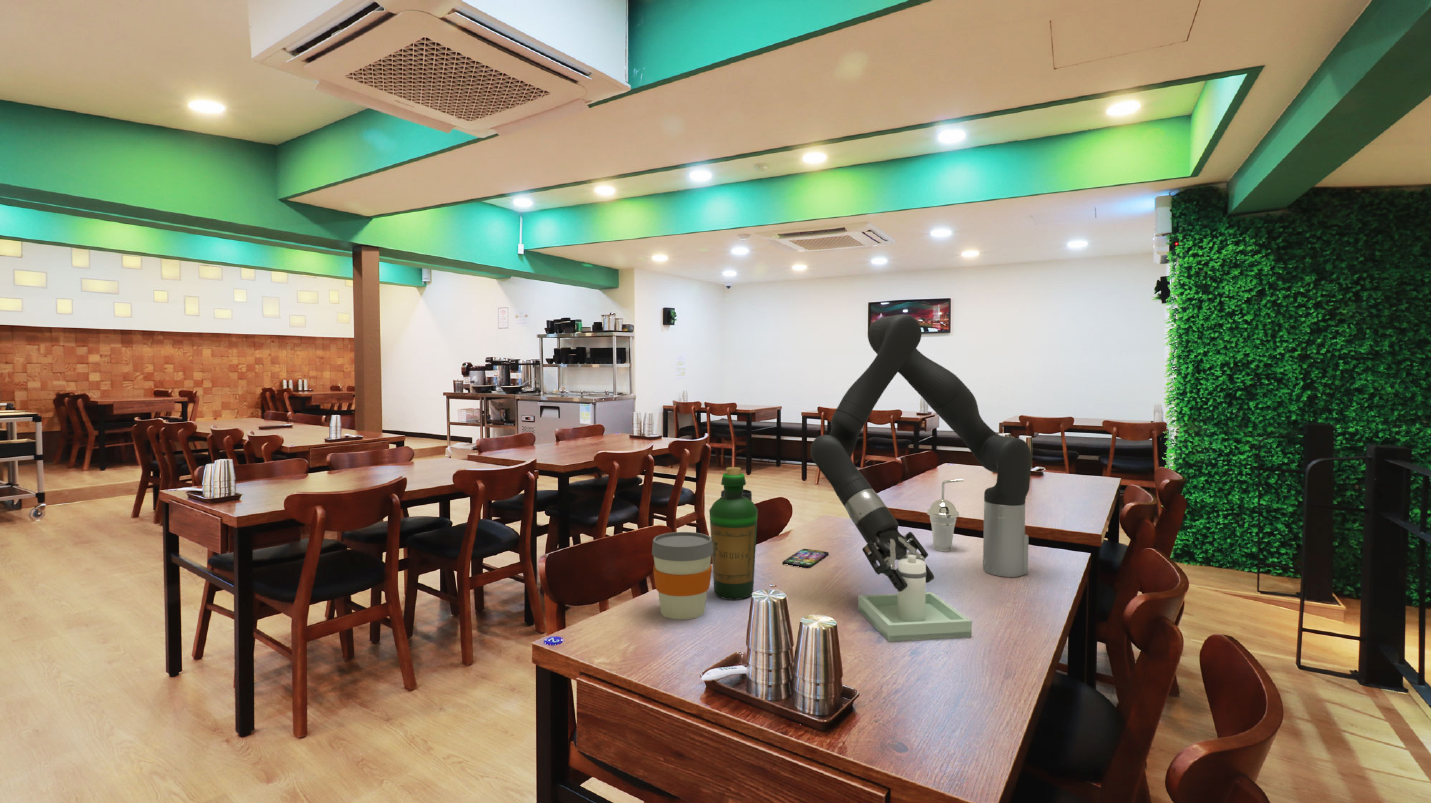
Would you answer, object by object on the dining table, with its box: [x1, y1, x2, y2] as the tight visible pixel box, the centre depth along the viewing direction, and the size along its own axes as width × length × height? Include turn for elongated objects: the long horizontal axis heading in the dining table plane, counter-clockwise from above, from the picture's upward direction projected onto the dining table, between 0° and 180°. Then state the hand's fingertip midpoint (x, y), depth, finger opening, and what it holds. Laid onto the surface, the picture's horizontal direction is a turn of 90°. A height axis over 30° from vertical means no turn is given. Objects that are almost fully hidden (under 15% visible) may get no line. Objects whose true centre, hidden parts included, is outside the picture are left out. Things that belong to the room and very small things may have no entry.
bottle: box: [709, 466, 759, 600], centre depth 144 cm, size 11×11×28 cm
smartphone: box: [782, 548, 829, 569], centre depth 171 cm, size 8×1×15 cm
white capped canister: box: [896, 555, 927, 622], centre depth 127 cm, size 6×6×12 cm
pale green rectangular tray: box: [858, 591, 973, 643], centre depth 128 cm, size 16×16×3 cm
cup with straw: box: [926, 478, 964, 552], centre depth 180 cm, size 8×9×20 cm
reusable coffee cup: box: [651, 531, 713, 621], centre depth 134 cm, size 12×13×15 cm
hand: (917, 585), depth 126 cm, fingers open, 8 cm apart
